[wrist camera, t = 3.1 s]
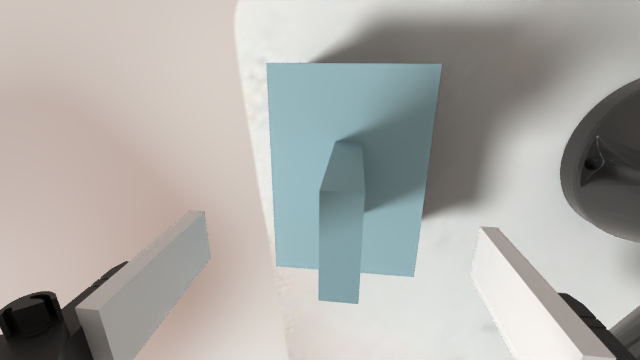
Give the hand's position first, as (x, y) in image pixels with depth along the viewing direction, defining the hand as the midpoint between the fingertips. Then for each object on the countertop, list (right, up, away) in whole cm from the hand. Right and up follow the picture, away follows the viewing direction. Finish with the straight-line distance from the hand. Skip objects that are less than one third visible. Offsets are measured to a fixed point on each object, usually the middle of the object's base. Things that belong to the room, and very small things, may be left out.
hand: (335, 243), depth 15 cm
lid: (+1, +3, +10) cm, 11 cm away
